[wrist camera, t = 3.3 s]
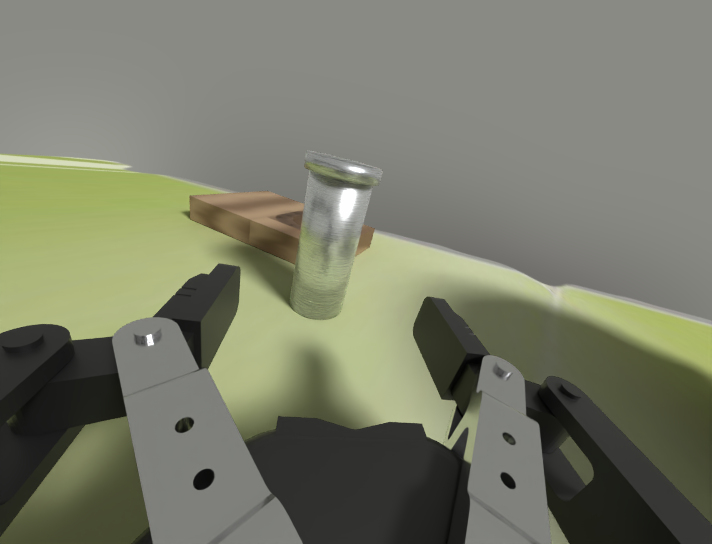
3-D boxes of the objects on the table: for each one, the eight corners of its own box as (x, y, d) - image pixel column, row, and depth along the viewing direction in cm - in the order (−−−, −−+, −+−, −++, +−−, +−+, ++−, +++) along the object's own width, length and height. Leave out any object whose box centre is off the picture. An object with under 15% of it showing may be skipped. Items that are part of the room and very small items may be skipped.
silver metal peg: (271, 304, 22) (289, 147, 17) (307, 281, 26) (330, 154, 21) (327, 332, 20) (366, 169, 15) (355, 303, 25) (391, 171, 20)
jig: (190, 219, 34) (189, 195, 32) (265, 208, 46) (267, 191, 44) (324, 276, 28) (329, 251, 27) (369, 247, 40) (374, 228, 39)
